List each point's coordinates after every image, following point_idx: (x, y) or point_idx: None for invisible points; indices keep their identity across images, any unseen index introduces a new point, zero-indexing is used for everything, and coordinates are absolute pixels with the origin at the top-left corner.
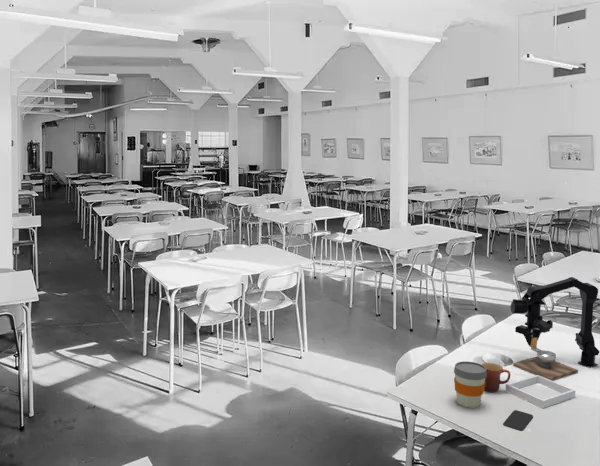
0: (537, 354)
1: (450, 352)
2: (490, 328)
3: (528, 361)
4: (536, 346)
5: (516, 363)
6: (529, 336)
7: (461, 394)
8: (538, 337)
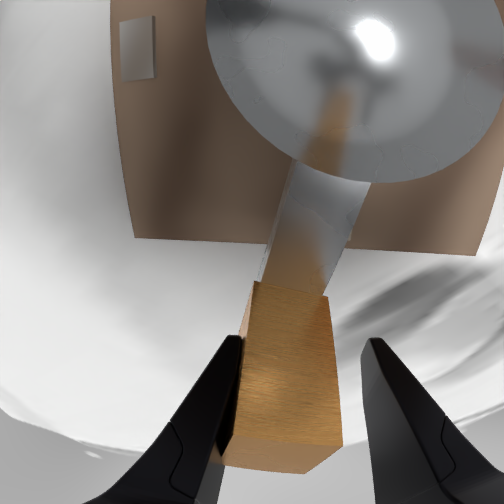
0: (466, 134)
1: (454, 421)
2: (122, 447)
3: (363, 208)
4: (256, 292)
5: (474, 237)
6: (477, 472)
7: None
8: (185, 423)
